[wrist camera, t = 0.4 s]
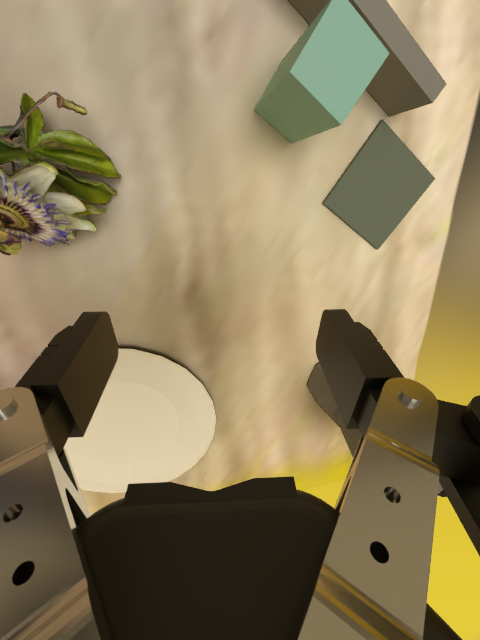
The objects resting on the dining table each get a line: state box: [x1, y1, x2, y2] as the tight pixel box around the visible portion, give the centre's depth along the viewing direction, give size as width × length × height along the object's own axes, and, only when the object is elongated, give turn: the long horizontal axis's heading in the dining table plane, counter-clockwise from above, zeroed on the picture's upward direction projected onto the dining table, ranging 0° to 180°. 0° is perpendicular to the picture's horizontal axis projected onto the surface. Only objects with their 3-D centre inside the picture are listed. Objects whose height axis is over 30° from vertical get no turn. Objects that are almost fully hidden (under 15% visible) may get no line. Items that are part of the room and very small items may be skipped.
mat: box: [322, 120, 435, 249], centre depth 31 cm, size 9×9×1 cm
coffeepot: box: [307, 363, 447, 497], centre depth 34 cm, size 15×9×18 cm, turn 51°
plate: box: [64, 348, 216, 493], centre depth 38 cm, size 25×25×2 cm
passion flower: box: [0, 92, 121, 255], centre depth 22 cm, size 11×11×12 cm
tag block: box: [254, 0, 389, 143], centre depth 22 cm, size 4×5×10 cm
